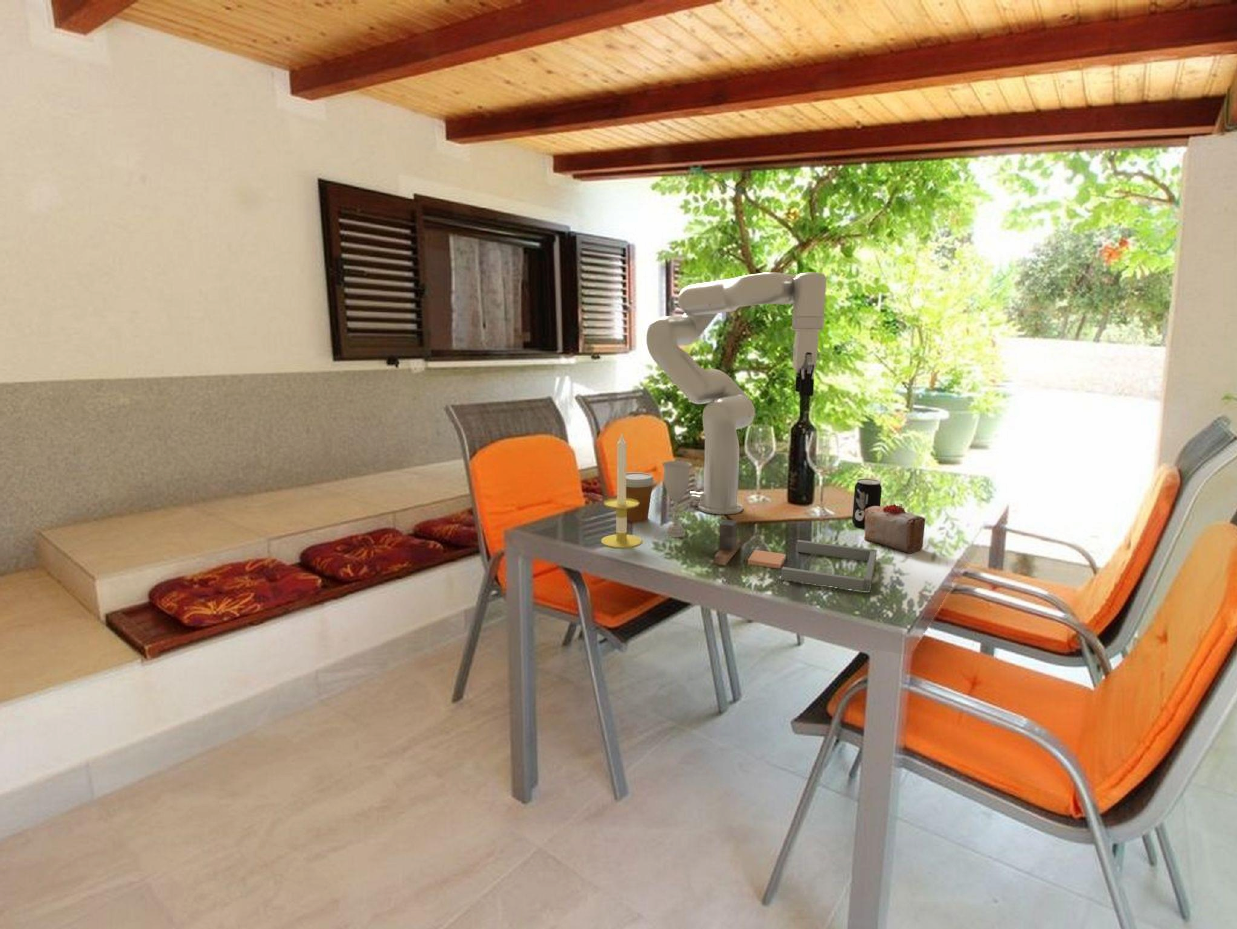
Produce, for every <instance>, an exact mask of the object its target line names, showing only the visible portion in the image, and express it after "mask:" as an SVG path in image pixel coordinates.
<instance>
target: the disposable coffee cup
mask: <svg viewBox="0 0 1237 929" xmlns="http://www.w3.org/2000/svg"><path fill="white" fill-rule="evenodd" d="M654 483H655V480H654V477H653V474H651V473H647V472H640V471H639V472H638V471H637V472H634V471H633V472H626V498H629V499H634V500H637V501H638V502H639V505H638V506H637V507H634V508H629V509H627V522H631V523H643V522H644V523H645V522H647V520H648V519H649V512H650V506H651V498H652V491H653V485H654Z"/></svg>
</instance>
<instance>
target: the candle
mask: <svg viewBox="0 0 1237 929" xmlns="http://www.w3.org/2000/svg"><path fill="white" fill-rule="evenodd" d="M616 449H617V451H616V453H617V454H616V458H617V459H616V461H617V462H616V467H617V468H616V470H617V473H616V475H617V476H616V478H617V479H616V482H617V483H616V491H617V492H616V497H615V498H614V497H613V498H609V499H606V500H605V501H603V505H604V506H605V507H607V508H609V509H610V508H611V509H616V512H615V513H616V517H615V518H616V521H615V522H616V524H615V525H616V530H615V532H616V533H614V534H610V535H606V536H604V537H602V539H601V540H600V543H601V544H602V546H605V547H608V548H610V549H620V550H621V549H623V550H624V549H631V548H637V547H639V546H640V545H641V544H642V543H643V540H642V538H641V537H639V536H637V535H633V534H627V533H628V532H627V531H628V529H627V528H628V521H627V509H629V508H634V507H637V506H638V505H639V502H638V501H637V500H634V499H629V498H626V473H627V441H625V439H624V434H623V433H621V434H620V437H619V440H618V441H617V443H616Z"/></svg>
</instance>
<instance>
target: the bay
mask: <svg viewBox="0 0 1237 929" xmlns="http://www.w3.org/2000/svg"><path fill="white" fill-rule="evenodd" d="M877 551H878V550H877V549H873V548H865V547H858V546H849V545H842V544H835V543H834V544H831V543H826V542H818V541H809V540H801V539H798V540H797V541H796V552H798V553H804V554H812V555H819V556H825V557H826V556H827V557H834V558H842V559H849V560H855V561H863V562H867V565H866V569H865V574H864V578H863V577H862V578H861V577H855V576H849V575H841V574H834V573H827V572H821V571H813V570H807V569H799V568H792V567H787V566H781V571H780V572H781V573H780V574H781V576H780V580H781V581H783V580H786V581H785V582H790V581H793V582H792V583H796V582H803V583H811V584H816V585H826V586H833V587H837V588H843V589H852V590H859V591H871V588H870V586H872V581H873V577H874V572H875V566H876V561H877ZM803 583H802V584H803ZM816 585H815V586H816Z"/></svg>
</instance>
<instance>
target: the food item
mask: <svg viewBox="0 0 1237 929" xmlns="http://www.w3.org/2000/svg"><path fill="white" fill-rule="evenodd" d="M902 505H903V504H899V505H896V504H895V503H894V504H889V505H886V506H881V505H880V506H872V507H869V508H867V509H865V524H864V526H865V528H864V541H867V542H868V541H869V542H872V543H875V544H879V545H882V546H886V547H889V548H891V549H895V550H897V551H900V552H904V553H907V554H911V553H915V552H918V551H921V550H923V547H924V534H925V527H926V525H925V524H926V518H925V517H923V516H920V515H916V514H913V513H909V512H906V510H905V509H904V508H903V506H902Z"/></svg>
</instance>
